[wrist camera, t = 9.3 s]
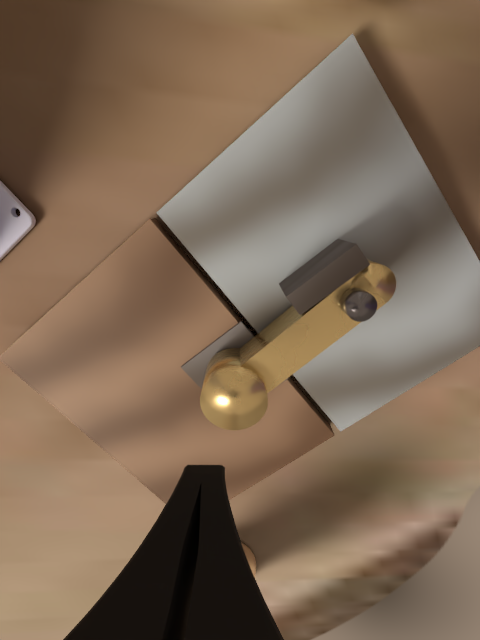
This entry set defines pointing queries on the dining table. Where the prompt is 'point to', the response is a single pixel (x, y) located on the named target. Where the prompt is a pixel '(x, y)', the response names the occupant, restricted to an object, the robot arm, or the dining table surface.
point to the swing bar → (287, 348)
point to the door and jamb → (264, 289)
